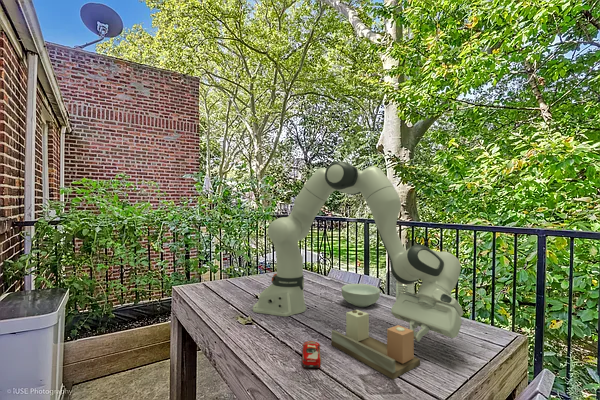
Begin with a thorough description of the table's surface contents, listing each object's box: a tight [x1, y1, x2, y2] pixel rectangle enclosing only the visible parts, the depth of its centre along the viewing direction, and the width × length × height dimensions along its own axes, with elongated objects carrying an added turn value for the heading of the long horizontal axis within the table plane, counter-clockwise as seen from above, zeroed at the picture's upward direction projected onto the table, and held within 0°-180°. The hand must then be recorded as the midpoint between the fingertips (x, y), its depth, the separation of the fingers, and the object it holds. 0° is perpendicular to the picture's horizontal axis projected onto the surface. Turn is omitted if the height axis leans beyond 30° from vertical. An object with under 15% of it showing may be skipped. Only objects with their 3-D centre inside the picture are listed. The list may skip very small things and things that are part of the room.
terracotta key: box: [386, 324, 415, 364], centre depth 83 cm, size 5×5×8 cm
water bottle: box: [395, 279, 415, 302], centre depth 120 cm, size 7×7×25 cm
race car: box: [301, 340, 322, 369], centre depth 87 cm, size 13×5×4 cm, turn 177°
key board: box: [330, 329, 421, 380], centre depth 89 cm, size 12×23×4 cm, turn 36°
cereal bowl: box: [341, 283, 381, 308], centre depth 135 cm, size 17×17×7 cm
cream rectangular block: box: [345, 309, 370, 341], centre depth 96 cm, size 5×5×8 cm
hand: (413, 338), depth 87 cm, fingers closed
